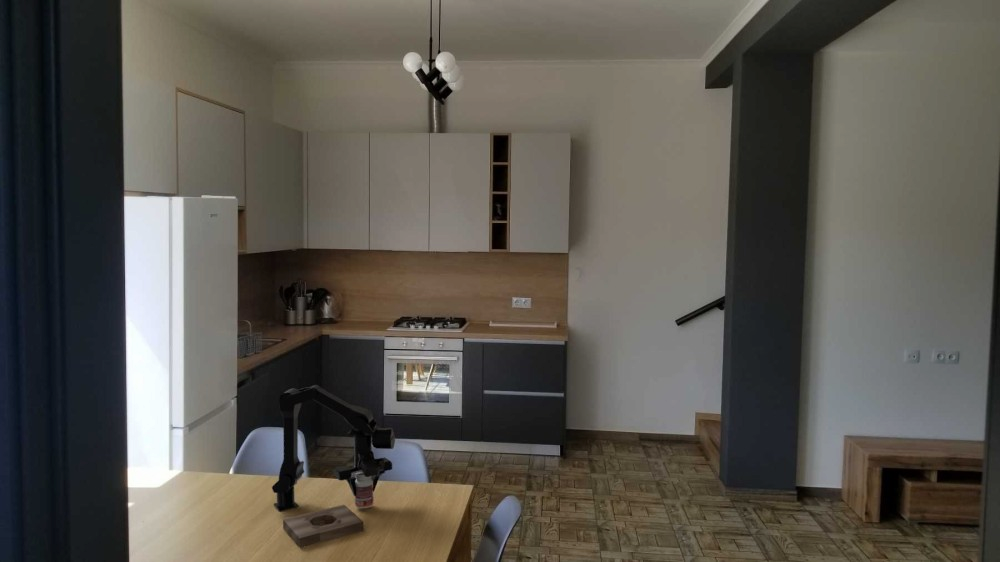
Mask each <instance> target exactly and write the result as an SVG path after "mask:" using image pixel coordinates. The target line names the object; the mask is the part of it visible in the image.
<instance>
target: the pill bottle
mask: <svg viewBox="0 0 1000 562" xmlns="http://www.w3.org/2000/svg"><path fill="white" fill-rule="evenodd" d="M354 477H355V478H356V481H355V485H356V496H354V506H355V507H356V508H357V509H362V510H363V509H368V508H371V507H373V505H374V492H373V480H372V479H371V476H370V477H365V476H364V473H363V472H358V473H355V476H354Z"/></svg>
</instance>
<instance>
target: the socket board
mask: <svg viewBox="0 0 1000 562" xmlns="http://www.w3.org/2000/svg"><path fill="white" fill-rule="evenodd" d="M364 527H365V525H364V521H363V519H361V518H360V517H359V516H358V515H357V514H355V512H354V511H352V510H351V509H350V508H349V507H348V506H346V505H345V504H340V505H337V506H333V507H328V508H325V509H324V508H323V509H319V510H317V511H312V512H308V513H304V514H299V515H295V516H289V517H288V518H287V517H286V518H283V519H282V528H283V530H284V531H285V532H286V535H287V534H288V536H289V537H290V538H291V540H292V541H293V542H294V543H295V544H296V546H297V547H298V546H299V547H300V548H299V549H302V548H305V547H304V546H306V547H309V546H313V545H316V544H319V543H323V542H328V541H331V540H335V539H339V538H342V537H345V536H349V535H353V534H357V533H361V532H364V529H365V528H364ZM301 547H302V548H301Z"/></svg>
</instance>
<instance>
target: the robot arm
mask: <svg viewBox="0 0 1000 562" xmlns="http://www.w3.org/2000/svg"><path fill="white" fill-rule="evenodd" d="M311 400H313V401H314V402H316V403H318V404H320V405H321V406H323V407H325V408H327V409H329V410H331V411H332V412H334V413H336V414H338V415H340V416H341V417H342V418H343V419H344V420H345V421H346V422H347V424H349V425H350V426H351V427H352V428H351V430H350V431H349V432H348V433H347V436H349V437H350V436H352V437H353V442H354V443H353V444H354V445H353V447H354V448H353V450H352V453H353V454H354V458H353V459H354V461H352V463H353V467H350V468H349V467H348V466H346V465H342V466H336V467H334V469H333V476H334V477H335V478H336V479H337V480H339V481H346V482H347V483H348V486H349V488H350V490H351V493H352V495H353V497H355V496H356V485H355V481H356V478H355V477H356V476H355V474H356V473H358V472H363V473H364V476H365V477H370V476H371V479H372V480H373V493H374V492H375V490H376V487H377V484H378V481H379V479H380V477H381V476H382V475H383V474H385V473H386V472H387V471H391V470H393V462H392V461H391V460H389V459H388V458H386V457H380V458H379V457H378V458H375V455H374V451H373V448H375V449H378V450H379V449H380V450H381V449H382V450H393V449H394V448H395V443H396V436H395V432H394V428H393V427H387V428H386V427H382V428H381V427H380V425H379V424H378V422H377V421H376V420H375V418H374V416H373V412H372V411H371V410H370V409H368V408H365V407H362V406H358V405H353V404H351V403H348V402H347V401H345V400H343V399H341V398H340V397H337V396H336V395H335V394H332V393H331V392H329V391H327V390H325V389H324V388H322V387H321V386H320V385H318V384H313V385H312V386H308V387H303V388H299V389H298V388H290V389H287V390H286V391H285V392H283V393H281V394H280V396H278V406H279V407H278V408H279V412H280V414H281V416H282V419H283V423H282V425H283V429H282V430H283V434H282V435H283V460H282V463H281V466H280V469H279V474H278V480H277V481H276V482H275V483H274V484H273V485H272V486H271V489H272V492H273V493H275V494H276V502H274V503H273V507H275V508H276V510H278V511H279V512H281V511H286V510H290V509H294V508H298V507H299V504H298V503H297V502H296V500H295V498H296V497H295V485H297V483H298V481H299V480H300V479H301V478H302V476H303V474H304V473H305V470H304V467H305V461H304V460H302V461H301V460H300V459H299V452H298V451H299V450H298V449H299V447H298V445H299V442H298V441H299V438H298V433H299V431H298V430H299V429H298V424H299V423H298V418H299V417H298V416H299V412H300V410H301V407H302V403H304V402H307V401H311ZM372 447H373V448H372Z"/></svg>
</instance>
